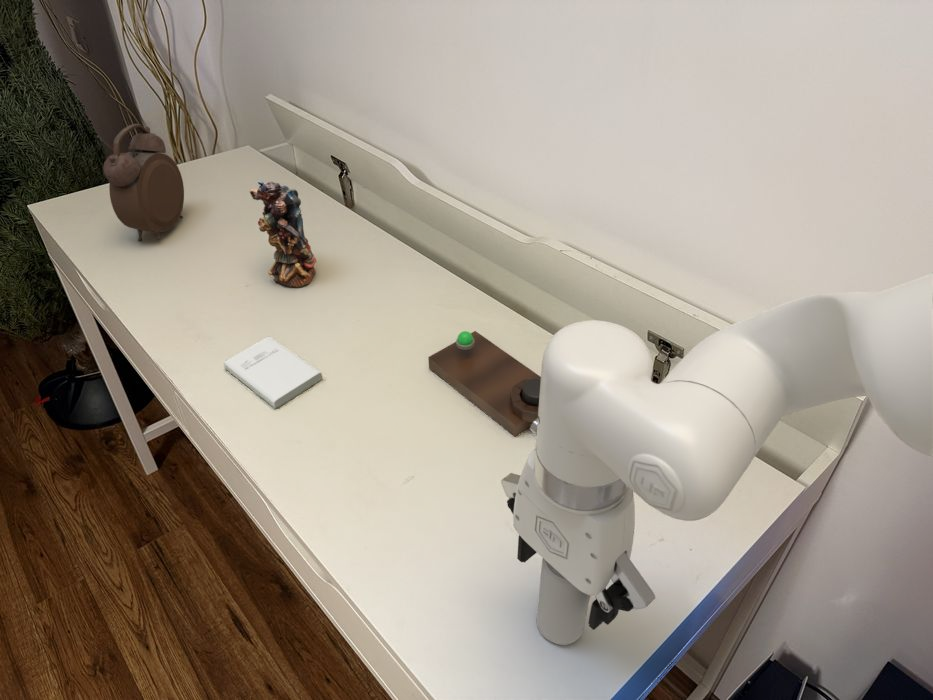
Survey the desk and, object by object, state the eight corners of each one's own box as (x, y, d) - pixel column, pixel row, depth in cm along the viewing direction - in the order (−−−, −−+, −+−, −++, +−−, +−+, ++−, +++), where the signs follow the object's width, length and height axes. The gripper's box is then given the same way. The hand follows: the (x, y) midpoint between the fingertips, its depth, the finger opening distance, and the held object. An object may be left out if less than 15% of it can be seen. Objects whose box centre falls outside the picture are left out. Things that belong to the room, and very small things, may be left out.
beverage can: (586, 648, 69) (599, 582, 61) (537, 647, 69) (544, 581, 61) (581, 603, 72) (592, 535, 65) (534, 602, 73) (540, 535, 65)
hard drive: (275, 410, 95) (225, 369, 101) (323, 379, 99) (272, 342, 106) (273, 401, 94) (222, 361, 100) (321, 371, 98) (269, 334, 105)
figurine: (248, 291, 116) (222, 194, 105) (268, 262, 123) (246, 167, 111) (310, 297, 115) (290, 198, 103) (327, 266, 122) (310, 171, 110)
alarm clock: (162, 210, 138) (129, 111, 125) (196, 213, 137) (165, 113, 124) (120, 248, 127) (79, 144, 114) (156, 252, 126) (119, 147, 113)
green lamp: (478, 345, 99) (478, 333, 97) (464, 353, 97) (464, 341, 96) (466, 336, 100) (466, 324, 99) (452, 344, 99) (452, 332, 98)
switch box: (575, 413, 93) (577, 391, 91) (527, 446, 89) (528, 425, 86) (475, 341, 105) (475, 321, 103) (428, 368, 101) (427, 347, 98)
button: (555, 397, 91) (556, 388, 90) (535, 411, 89) (536, 401, 88) (535, 383, 93) (536, 374, 92) (516, 396, 91) (516, 386, 90)
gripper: (473, 427, 58) (474, 547, 69) (640, 566, 48) (610, 680, 59) (537, 385, 61) (528, 506, 73) (704, 506, 51) (664, 624, 63)
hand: (565, 583), depth 66 cm, fingers open, 8 cm apart
